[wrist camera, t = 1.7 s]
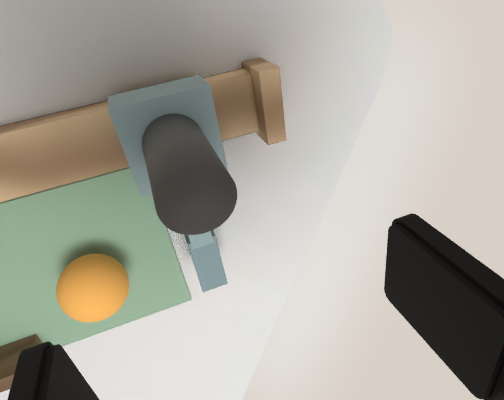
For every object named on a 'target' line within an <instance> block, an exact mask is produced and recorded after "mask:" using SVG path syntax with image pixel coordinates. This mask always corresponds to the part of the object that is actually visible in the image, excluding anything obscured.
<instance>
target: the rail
mask: <svg viewBox="0 0 504 400" xmlns="http://www.w3.org/2000/svg"><path fill="white" fill-rule="evenodd" d="M242 64H243V69H239V70H235V71H231V72H227V73H222V74H218V75H214V76H210V77H206V78H204V79H205V80H206V81H207V82H208V83H209V84H210V87H211V92H212V96H213V101H214V106H215V111H216V116H217V121H218V126H219V130H220V135H221V140H222V141H224V140H228V139H231V138H235V137H239V136H242V135H246V134H249V133H253V132H256V133H257V134H258V135H259V136H260V137H261V138H262V139H263V140H264V141H265V142H266V143H267V144H268V145H271V144H274V143H278V142H281V141H285V140H286V132H285V122H284V111H283V101H282V90H281V80H280V70H279V67H278V66H276V65H274V64H272V63H270V62H268V61H266V60H264V59H262V58H257V59H252V60H248V61H244V62H242ZM126 167H129V164H128V161H127V159H126V156H125V154H124V151H123V148H122V146H121V143H120V140H119V138H118V135H117V132H116V130H115V127H114V124H113V122H112V119H111V117H110V114H109V111H108V101H105V102H100V103H96V104H92V105H88V106H84V107H79V108H75V109H71V110H67V111H63V112H58V113H54V114H50V115H46V116H41V117H37V118H33V119H29V120H25V121H20V122H16V123H12V124H8V125H4V126H0V202H3V201H7V200H11V199H14V198H18V197H21V196H25V195H29V194H32V193H36V192H40V191H43V190H47V189H50V188H54V187H58V186H61V185H65V184H68V183H72V182H76V181H79V180H83V179H87V178H90V177H94V176H97V175H101V174H105V173H108V172H112V171H116V170H119V169H123V168H126Z"/></svg>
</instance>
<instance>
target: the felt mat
mask: <svg viewBox="0 0 504 400" xmlns="http://www.w3.org/2000/svg"><path fill="white" fill-rule="evenodd" d="M88 254H104V255H108V256H111V257H113V258H114V259H116V260H117V261H119V262H120V263H121V264H122V265H123V267H124V268H125V270H126V272H127V274H128V278H129V292H128V296H127V298H126V300H125V302H124V304H123V305H122V307H121V308H120V309H119V310H118V311H117V312H116V313H115V314H114V315H112V316H110V317H109V318H107V319H105V320H102V321H98V322H91V323H88V322H81V321H77V320H75V319H73V318H71V317H69V316H68V315H67V314H66V313H65V312H64V311H63V310H62V309H61V307H60V305H59V303H58V300H57V296H56V287H57V282H58V279H59V277H60V275H61V273H62V272H63V270H64V269H65V268H66V267H67V265H69V264H70V263H71V262H72V261H74V260H75V259H77V258H79V257H81V256H84V255H88ZM189 300H192V299H191V296H190V293H189V291H188V288H187V285H186V282H185V279H184V276H183V273H182V271H181V268H180V265H179V262H178V259H177V256H176V254H175V251H174V248H173V245H172V242H171V239H170V236H169V234H168V231H167V228H166V226H165V225H164V224H163V223H162V222H161V221H160V219H159V217H158V215H157V213H156V209H155V205H154V200H153V195H152V194H150V195H147V196H144V197H141V196H140V193H139V190H138V188H137V185H136V183H135V180H134V177H133V175H132V172H131V169H130V167H128V168H124V169H120V170H117V171H113V172H109V173H106V174H102V175H99V176H95V177H91V178H88V179H84V180H81V181H77V182H73V183H70V184H66V185H62V186H59V187H55V188H52V189H48V190H44V191H41V192H37V193H34V194H30V195H26V196H23V197H19V198H15V199H12V200H8V201H5V202H1V203H0V346H2V345H5V344H8V343H11V342H14V341H17V340H19V339H22V338H25V337H28V336H31V335H34V334H37V336H38V337H39V338H40V340H41V341H42V342H43V343H44V342H47V341H49V342H51V343H52V344H53V345H56V344H60V345H61V346H65V345H68V344H70V343H73V342H76V341H79V340H81V339H84V338H87V337H90V336H93V335H95V334H98V333H101V332H104V331H106V330H109V329H112V328H115V327H117V326H120V325H123V324H126V323H129V322H131V321H134V320H137V319H140V318H142V317H145V316H148V315H151V314H153V313H156V312H159V311H162V310H165V309H167V308H170V307H173V306H176V305H178V304H181V303H184V302H187V301H189Z"/></svg>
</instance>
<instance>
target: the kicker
mask: <svg viewBox="0 0 504 400" xmlns="http://www.w3.org/2000/svg"><path fill="white" fill-rule="evenodd" d="M108 111H109V114H110V117H111V119H112V122H113V124H114V127H115V130H116V132H117V135H118V138H119V140H120V143H121V146H122V148H123V151H124V154H125V156H126V159H127V161H128V164H129V167H130V169H131V172H132V175H133V177H134V180H135V183H136V185H137V188H138V190H139V193H140V196H141V197H144V196H147V195H150V194H152V195H153V200H154V205H155V209H156V213H157V215H158V217H159V219H160V221H161V222H162V223H163V224H164V225H165V226H166V227H167V228H169V229H170V230H172V231H174V232H177V233H180V234H185V237H186V241H187V244H188V247H189V250H190V253H191V257H192V260H193V263H194V266H195V269H196V272H197V275H198V278H199V282H200V285H201V288H202V291H203V292H205V291H208V290H211V289H213V288H216V287H219V286H222V285H225V284H227V279H226V275H225V272H224V268H223V264H222V260H221V256H220V252H219V248H218V244H217V241H216V237H215V234H214V232H213V229H215V228H217V227H219V226H220V225H221V224H223V223H224V222H225V221H226V220H227V219H228V217H229V216H230V215H231V213H232V212H233V210H234V207H235V204H236V200H237V189H236V185H235V183H234V181H233V179H232V177H231V176H230V174H229V173H228V169H227V164H226V160H225V155H224V150H223V145H222V140H221V135H220V130H219V126H218V121H217V116H216V111H215V106H214V101H213V96H212V92H211V87H210V84H209V83H208V82H207V81H206V80H205V79H204V78H203V77H202V76H201V75H200V74H199V75H195V76H191V77H187V78H182V79H178V80H174V81H169V82H165V83H161V84H157V85H152V86H148V87H144V88H140V89H135V90H131V91H127V92H123V93H118V94H114V95H110V96H108Z"/></svg>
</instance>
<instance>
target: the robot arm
mask: <svg viewBox="0 0 504 400" xmlns="http://www.w3.org/2000/svg"><path fill="white" fill-rule="evenodd" d="M384 290H385V293H386V296H387V298H388V300H389V301H390V302H391V303H392V304H393V305H394V307H395V308H396V309H397V310H398V311H399V312H400V313H401V314H402V315H403V317H404V318H405V319H406V320H407V321H408V322H409V323H410V325H411V326H412V327H413V328H414V329H415V330H416V331H417V332H418V334H419V335H420V336H421V337H422V338H423V339H424V340H425V341H426V343H427V344H428V345H429V346H430V347H431V348H432V349H433V350H434V351H435V353H436V354H437V355H438V356H439V357H440V358H441V359H442V360H443V361H444V363H445V364H446V365H447V366H448V367H449V368H450V369H451V370H452V372H453V373H454V374H455V375H456V376H457V377H458V378H459V380H460V381H461V382H462V383H463V384H464V385H465V386H466V387H467V388H468V390H469V391H470V392H471V393H472V394H473V395H474V396H475V397H477V398H479V399H484V400H504V279H503V278H502V277H500V276H499V275H498V274H496V273H495V272H493V271H492V270H491V269H489V268H488V267H487V266H485V265H484V264H482V263H481V262H480V261H478V260H477V259H475V258H474V257H473V256H472V255H470V254H469V253H468V252H466V251H465V250H464V249H462V248H461V247H459V246H458V245H457V244H456V243H454V242H453V241H451V240H450V239H449V238H447V237H446V236H445V235H443V234H442V233H441V232H439V231H438V230H437V229H435V228H434V227H432V226H431V225H430V224H428V223H427V222H426V221H424V220H423V219H422V218H420V217H419V216H418V215H416V214H409V215H406V216H403V217H400V218H397V219H395V220H394V221H393V222H392V226H390V227H389V230H388V243H387V258H386V272H385V286H384ZM8 400H99V399H98V397H97V396H96V394H95V393H94V392H93V390H92V389H91V387H90V386H89V384H88V383H87V382H86V380H85V379H84V377H83V376H82V375H81V373H80V372H79V370H78V369H77V367H76V366H75V365H74V363H73V362H72V360H71V359H70V358H69V356H68V355H67V353H66V352H65V350H64V349H63V348H62V346H61V345H60V344H56V345H53V344H52V343H51V342H49V341H47V342H44V343H41V344H38V345H36V346H33V347H30V348H27V349H24V350H22V351H21V352H20V355H19V358H18V362H17V366H16V370H15V373H14V377H13V381H12V385H11V389H10V393H9V397H8Z"/></svg>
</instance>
